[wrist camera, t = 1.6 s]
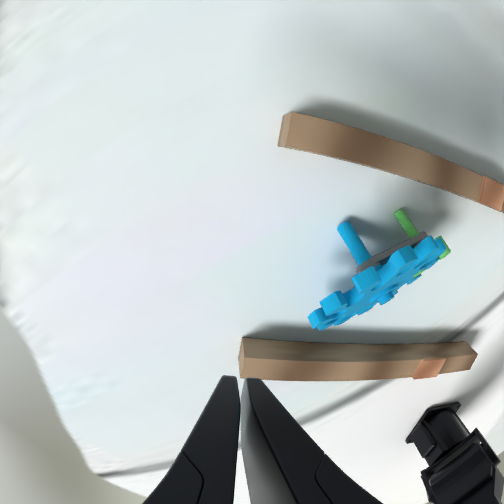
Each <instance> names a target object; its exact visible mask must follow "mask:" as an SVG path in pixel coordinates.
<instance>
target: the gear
mask: <svg viewBox="0 0 504 504" xmlns="http://www.w3.org/2000/svg"><path fill="white" fill-rule="evenodd" d="M395 217H396V218H397V219H398V221H399V222H400V224H401V225H402V227H403V228H404V230H405V231H406V233H407V234H408V236H409V238H410V239H408V240H406V241H404V242H402V243H400V244H398V245H396V246H394V247H392V248H390V249H388V250H386V251H384V252H382V253H380V254H378V255H376V256H374V257H371V256H370V254H369V252H368V251H367V249H366V247H365V246H364V244H363V242H362V241H361V239H360V238H359V236H358V234H357V233H356V231H355V230H354V228H353V226H352V225H351V223H350V222H349V221H347V222H344V223H342V224H341V225H340V226H339V227H338V228H337V230H338V232H339V233H340V235H341V237H342V238H343V240H344V242H345V243H346V245H347V247H348V248H349V250H350V252H351V253H352V255H353V257H354V258H355V260H356V262H357V264H358V265H359V266H358V267H357V268H356V271H357V273H358V274H357V275H355V276H354V277H353V278H352V281H353V283H354V285H355V287H354V288H353V289H351V290H350V291H348V292H346V293H344V294H342V292H341V291H336V292H334V293H332V294H330V295H329V296H327V297H326V298H325V299H323V300H322V301H321V302H320V304H321V306H322V307H321V308H319V309H317V310H315V311H313V312H312V313H311V314H310V315H309V316H308V319H309V321H310V323H311V325H312V327H313V329H315V328H318V329H319V330H320V331H321V330H324V329H326V328H328V327H329V326H331V325H333V324H334V325H335V326H336V325H339V324H342V323H344V322H345V321H347V320H348V319H350V318H351V317H352V316H354V315H355V314H357V315H360V314H362V313H364V312H366V311H368V310H370V309H371V308H372V307H373V306H374V305H375V304H376V303H378V302H379V303H380V305H383V304H385V303H386V302H388V301H390V300H391V299H393V298H394V295H395V294H397V293H398V291H397V290H398V289H399V288H400V287H401V286H402V285H404V284H405V283H407V285H408V284H410V283H412V282H413V281H415V280H416V279H418V278H419V277H420V276H421V273H422V272H423V271H424V270H426V269H428V268H430V267H431V266H433V265H434V264H435V263H436V262H437V261H438V260H441V259H442V258H444V257H445V256H447V255H448V254H449V253H450V252H451V251H450V249H449V248H448V246H447V244H446V243H445V241H444V240H443V238H442V237H441V236H439V237H437V238H436V239H433V237H432V236H427V235H426V233H425V232H422V233H420V234H419V233H418V232H417V230H416V229H415V227H414V226H413V224H412V223H411V221H410V220H409V219H408V217H407V216H406V214H405V213H404V211H403V210H402V209H401V210H399V211H397V212H396V213H395ZM383 265H384V266H383ZM382 266H383V267H382Z"/></svg>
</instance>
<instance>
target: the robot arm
mask: <svg viewBox="0 0 504 504" xmlns="http://www.w3.org/2000/svg"><path fill="white" fill-rule="evenodd" d="M460 406H461V404H460V402H457V403H453V404H448V405H444V406H439V407H434V408H430V409H428V410H427V411H426V412H425V413H424V415H423V416H422V418H421V419H420V421H419V422H418V424H417V425H416V426H415V428H414V429H413V431H412V432H411V433H410V435H409V436H408V438H407V439H406V440H405V441H406V443H407V444H408V443H413V442H414V444H415V445H416V447H417V449H418V451H419V453H420V454H421V456H422V458H425V460H426V461H427V463H428V465H429V467H428V468H426V469H424V470H422V471H421V474H422V476H421V478H422V480H423V483H424V485H425V488H426V491H427V496H428V501H429V502H431V503H434V504H502V503H501V496H502V491H503V484H504V477H503V476H502V474H501V473H500V471H499V469H498V468H497V465H498V464H499V463H500V462H501V461H500V460H499V458H498V457H497V455H496V454H495V452H494V451H493V449H492V448H491V446H490V445H489V444H488V442H487V441H486V439H485V438H484V437H483V435H482V434H481V433H480V431H479V430H478V429H477V428H475V429H474V430H473V432H472V433H471V434H470V432H469V431H468V429H467V428H466V427H465V425H464V424H463V422H462V421H461V420H460V418H459V417H458V415H457V414H456V412H457V410H458V409H459V407H460ZM240 413H241V447H242V455H243V461H244V467H245V473H246V478H247V484H248V490H249V496H250V501H251V504H383V503H382V502H380V501H379V500H378V499H376V498H375V497H374V496H372V495H371V494H370V493H368V492H367V491H366V490H364V489H363V488H362V487H361V486H359V485H358V484H357V483H356V482H355V481H353V480H352V479H351V478H350V477H349V476H347V475H346V474H345V473H344V472H343V471H342V470H341V469H340V468H339V467H338V466H337V465H336V464H335V463H334V462H333V461H332V460H331V459H330V458H329V457H328V456H327V455H326V454H324V451H323V450H322V449H321V448H320V447H319V446H318V445H317V444H316V443H315V442H314V440H313V439H312V438H311V437H310V436H309V435H308V434H307V433H306V432H305V430H304V429H303V428H302V427H301V426H300V425H299V424H298V423H297V421H296V420H295V419H294V418H293V417H292V416H291V414H290V413H289V412H288V411H287V410H286V409H285V408H284V406H283V405H282V404H281V403H280V402H279V400H278V399H277V398H276V397H275V396H274V395H273V393H272V392H271V391H270V390H269V389H268V387H267V386H266V385H265V384H264V383H263V381H262V380H261V379H260V378H254V377H247V378H246V379H245V381H244V385H243V390H242V395H241V404H240V397H239V390H238V383H237V378H236V377H235V376H227V375H223V376H222V377H221V379H220V381H219V382H218V384H217V386H216V388H215V390H214V392H213V393H212V395H211V397H210V399H209V401H208V403H207V404H206V406H205V408H204V410H203V412H202V414H201V415H200V417H199V419H198V421H197V423H196V424H195V426H194V428H193V430H192V432H191V433H190V435H189V437H188V439H187V440H186V442H185V444H184V446H183V448H182V449H181V452H180V453H179V454H178V456H177V458H176V460H175V461H174V463H173V464H172V466H171V468H170V469H169V471H168V472H167V474H166V475H165V477H164V478H163V479H162V481H161V482H160V483H159V484H158V486H157V487H156V488H155V489H154V491H153V492H152V493H151V494H150V495H149V496H148V498H147V499H146V500H145V501H144V502H143V503H142V504H233V501H234V488H235V476H236V463H237V451H238V438H239V425H240ZM480 442H481V444H480Z"/></svg>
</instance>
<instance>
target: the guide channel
mask: <svg viewBox="0 0 504 504" xmlns="http://www.w3.org/2000/svg"><path fill="white" fill-rule="evenodd" d="M278 146H280V147H285V148H290V149H295V150H300V151H305V152H310V153H314V154H319V155H323V156H327V157H332V158H336V159H340V160H344V161H348V162H352V163H356V164H360V165H364V166H367V167H371V168H375V169H378V170H382V171H385V172H389V173H392V174H396V175H399V176H402V177H406V178H409V179H412V180H415V181H418V182H422V183H425V184H428V185H431V186H434V187H437V188H440V189H442V190H445V191H448V192H451V193H454V194H457V195H459V196H462V197H465V198H467V199H470V200H473V201H475V202H478V203H480V204H483V205H485V206H488V207H490V208H493V209H495V210H498V211H500V212H502V213H504V185H502V184H500V183H498V182H496V181H494V180H492V179H490V178H488V177H486V176H484V177H483V176H481V175H479V174H477V173H475V172H473V171H471V170H468V169H466V168H464V167H462V166H459V165H457V164H455V163H452V162H450V161H448V160H445V159H443V158H440V157H438V156H436V155H433V154H430V153H428V152H425V151H423V150H420V149H417V148H415V147H412V146H409V145H406V144H404V143H401V142H398V141H395V140H392V139H389V138H386V137H383V136H380V135H377V134H374V133H370V132H367V131H364V130H361V129H357V128H354V127H350V126H347V125H343V124H340V123H336V122H332V121H328V120H324V119H320V118H316V117H312V116H308V115H304V114H299V113H295V112H290V113H288V114H286V115H284V116H283V119H282V125H281V130H280V136H279V142H278ZM477 355H478V354H477V353H476V352H475V351H474V350H473V349H472V348H471V347H470V346H469V345H468V344H467V343H466V342H450V343H426V344H339V343H314V342H295V341H280V340H266V339H254V338H243V337H242V341H241V347H240V352H239V357H238V359H239V370H240V378H244V379H246V378H247V377H254V378H260V379H261V380H281V381H358V380H379V379H394V378H406V377H412V378H413V379H422V378H430V377H437V375H438V374H443V373H451V372H458V371H464V370H470V368H471V366H472V364H473V362H474V361H475V359H476V357H477Z"/></svg>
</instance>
